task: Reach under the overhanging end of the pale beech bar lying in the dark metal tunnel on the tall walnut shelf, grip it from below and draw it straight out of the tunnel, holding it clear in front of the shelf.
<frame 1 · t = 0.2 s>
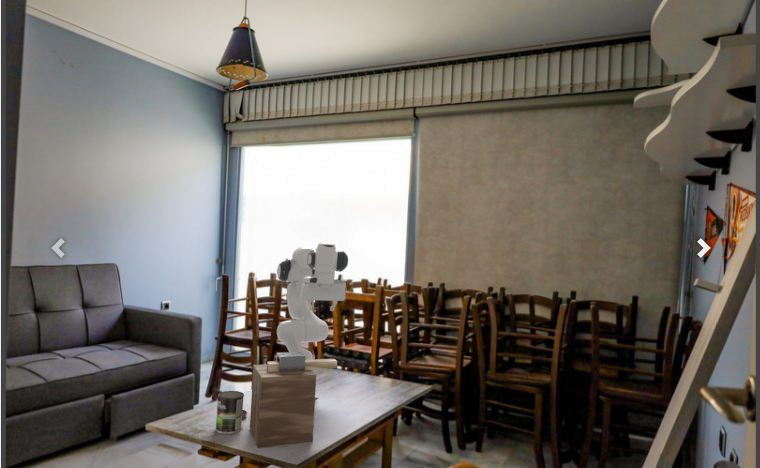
hand: (321, 310, 218), 48 cm above the table, tool pointing down, fingers open, 8 cm apart
metal tunnel: (290, 369, 199), resting on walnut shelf
coffee can: (228, 429, 201), on the table
beech bar: (302, 368, 201), point 26 cm above the table, touching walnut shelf
cup and saucer: (232, 418, 215), on the table
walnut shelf: (280, 435, 197), on the table
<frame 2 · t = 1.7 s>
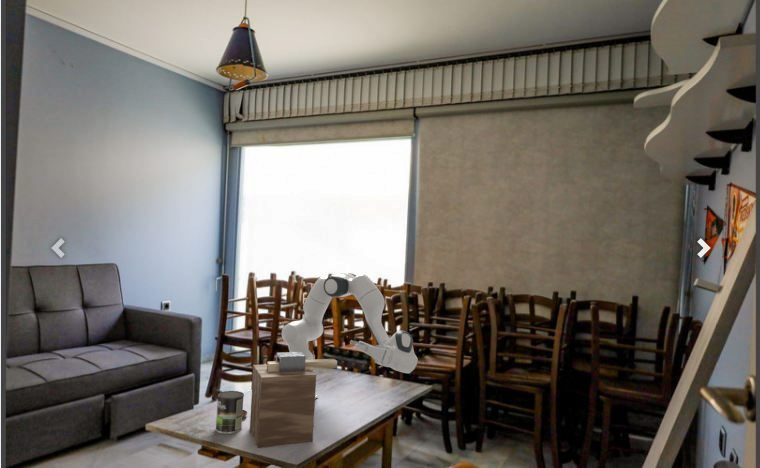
hand: (353, 343, 210), 36 cm above the table, tool pointing upward, fingers open, 8 cm apart
nothing on the table moved.
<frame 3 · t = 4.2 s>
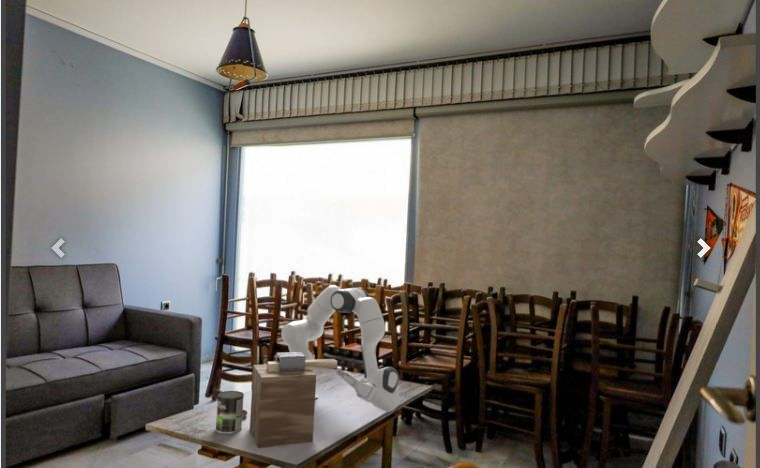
hand: (340, 374, 208), 23 cm above the table, tool pointing upward, fingers open, 8 cm apart
nothing on the table moved.
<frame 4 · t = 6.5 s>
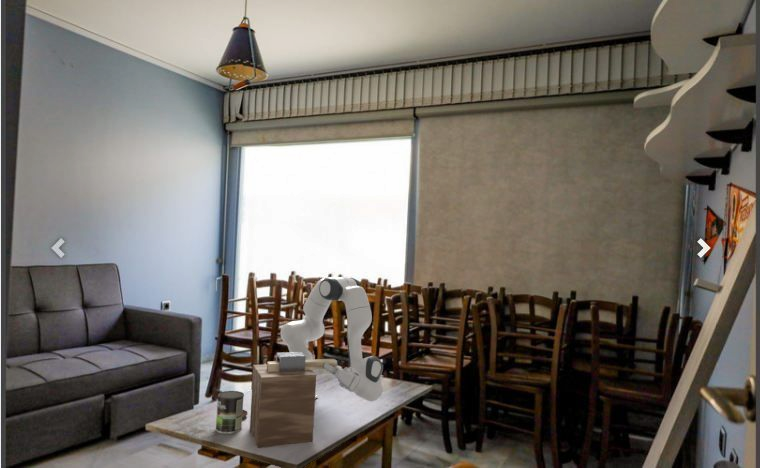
hand: (322, 362, 204), 28 cm above the table, tool pointing upward, fingers closed on beech bar, 4 cm apart
beech bar: (302, 368, 201), point 26 cm above the table, touching gripper, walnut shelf
everything else where it was.
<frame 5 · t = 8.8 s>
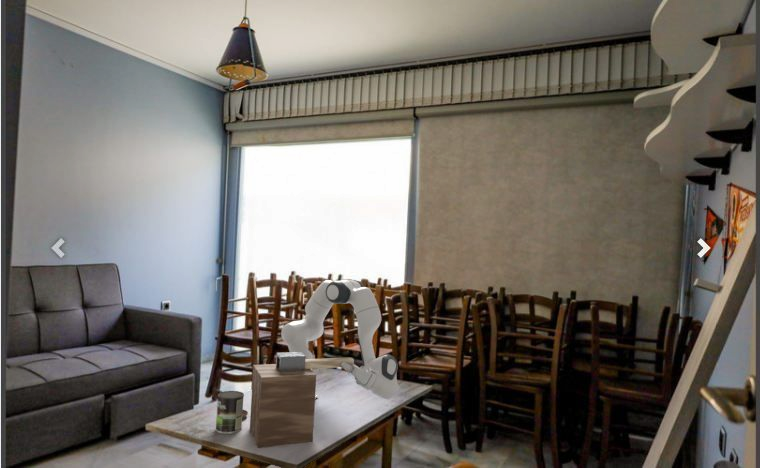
hand: (339, 361, 207), 28 cm above the table, tool pointing upward, fingers closed on beech bar, 4 cm apart
beech bar: (320, 367, 204), point 26 cm above the table, touching gripper
everything else where it was.
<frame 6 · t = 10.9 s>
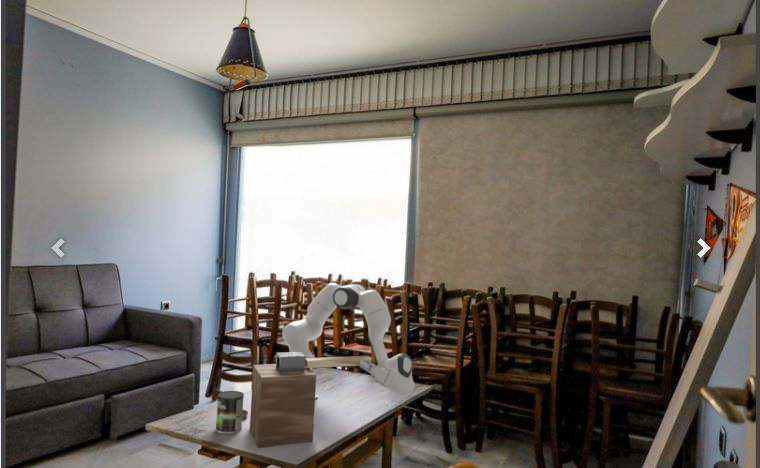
hand: (357, 359, 210), 29 cm above the table, tool pointing upward, fingers closed on beech bar, 4 cm apart
beech bar: (338, 365, 207), point 27 cm above the table, touching gripper
everything else where it was.
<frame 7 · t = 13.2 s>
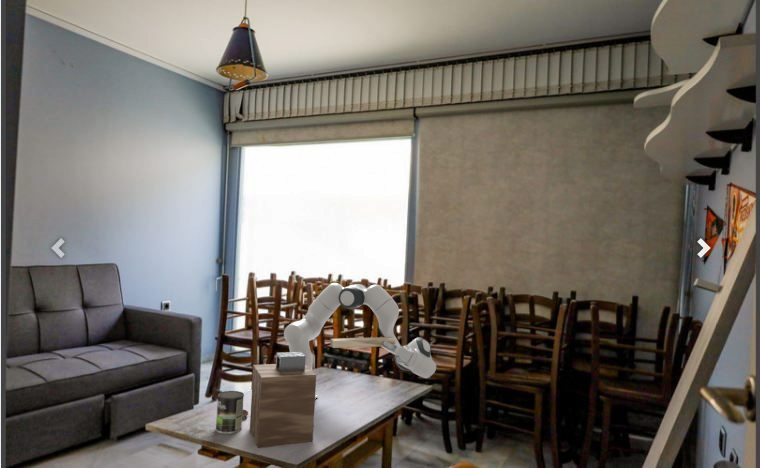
hand: (381, 340, 215), 36 cm above the table, tool pointing upward, fingers closed on beech bar, 4 cm apart
beech bar: (363, 345, 212), point 34 cm above the table, touching gripper
everything else where it was.
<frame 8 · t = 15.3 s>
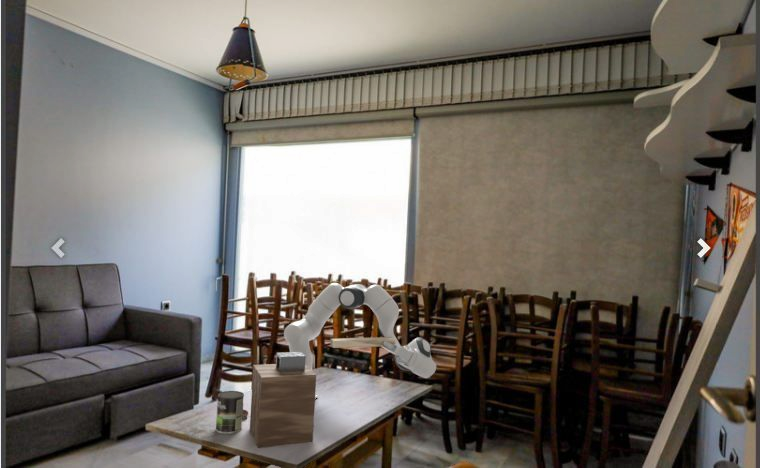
hand: (381, 340, 215), 36 cm above the table, tool pointing upward, fingers closed on beech bar, 4 cm apart
beech bar: (363, 345, 212), point 34 cm above the table, touching gripper
everything else where it was.
at the end: beech bar inside the target area (1.0 cm from its centre), point 34.4 cm above the table; beech bar touching gripper; the gripper is holding beech bar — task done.
